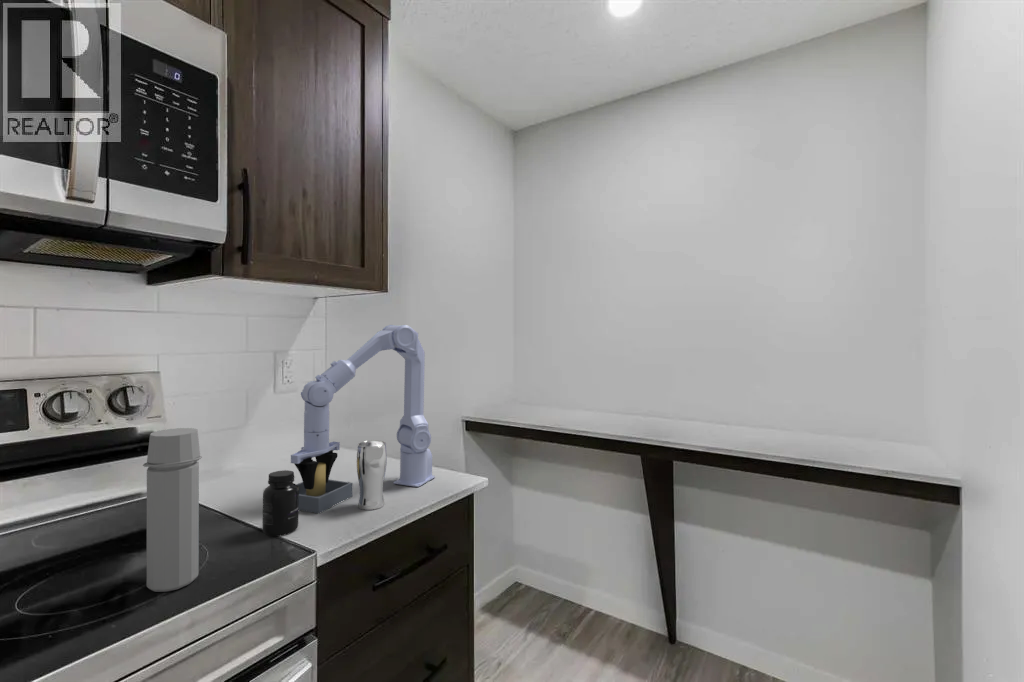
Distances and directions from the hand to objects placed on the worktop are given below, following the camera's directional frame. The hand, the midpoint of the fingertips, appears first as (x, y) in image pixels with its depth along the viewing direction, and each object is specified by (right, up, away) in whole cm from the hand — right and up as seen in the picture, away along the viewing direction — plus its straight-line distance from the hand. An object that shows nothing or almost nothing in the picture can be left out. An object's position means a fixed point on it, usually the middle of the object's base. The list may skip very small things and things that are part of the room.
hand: (316, 485), depth 116 cm
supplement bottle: (-1, -5, -17) cm, 17 cm away
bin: (0, -4, 0) cm, 4 cm away
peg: (0, -2, 0) cm, 2 cm away
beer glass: (+14, -4, -2) cm, 15 cm away
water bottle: (-9, -5, -37) cm, 38 cm away
